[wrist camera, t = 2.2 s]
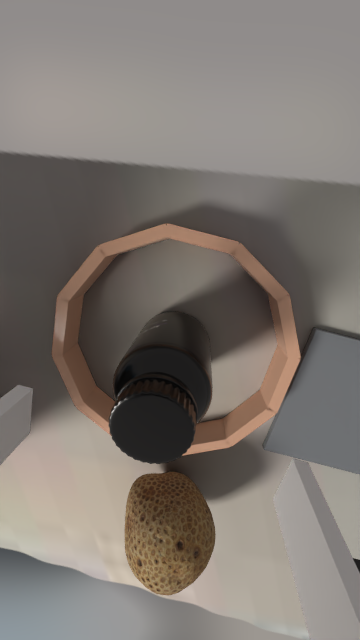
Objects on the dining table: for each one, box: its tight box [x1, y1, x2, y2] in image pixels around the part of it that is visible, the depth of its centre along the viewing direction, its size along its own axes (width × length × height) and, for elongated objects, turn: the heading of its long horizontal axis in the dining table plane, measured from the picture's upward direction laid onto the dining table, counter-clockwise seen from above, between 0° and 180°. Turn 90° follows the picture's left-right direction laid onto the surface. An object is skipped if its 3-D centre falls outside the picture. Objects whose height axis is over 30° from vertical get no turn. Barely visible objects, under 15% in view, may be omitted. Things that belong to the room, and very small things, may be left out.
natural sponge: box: [125, 472, 215, 595], centre depth 25 cm, size 9×9×10 cm
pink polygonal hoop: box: [51, 223, 301, 456], centre depth 24 cm, size 21×21×3 cm
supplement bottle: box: [108, 312, 212, 464], centre depth 19 cm, size 7×7×12 cm
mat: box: [263, 328, 360, 474], centre depth 25 cm, size 14×14×1 cm
